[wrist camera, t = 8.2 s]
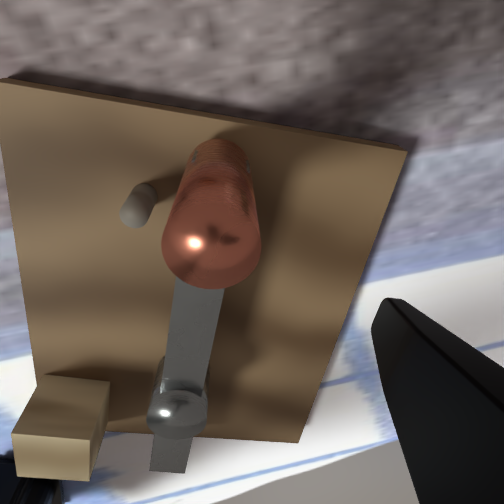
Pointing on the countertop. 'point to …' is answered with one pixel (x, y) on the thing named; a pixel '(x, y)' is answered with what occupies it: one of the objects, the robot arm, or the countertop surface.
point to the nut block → (61, 428)
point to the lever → (200, 289)
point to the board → (153, 264)
